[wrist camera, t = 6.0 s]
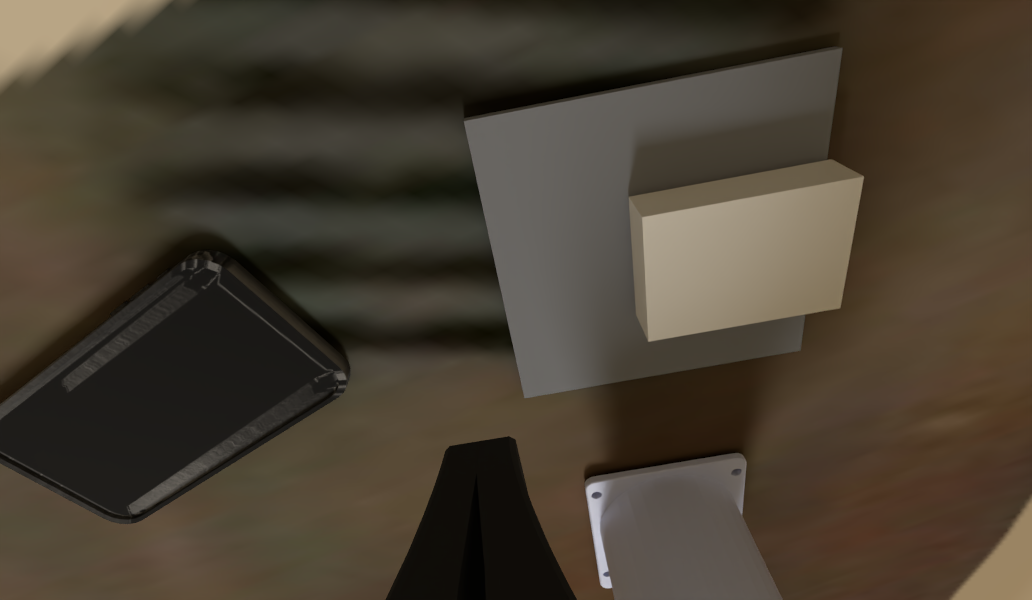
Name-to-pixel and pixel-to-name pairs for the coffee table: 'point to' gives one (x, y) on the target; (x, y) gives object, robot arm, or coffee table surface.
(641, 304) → the tile
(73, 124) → the coffee table surface
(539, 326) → the mat
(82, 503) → the phone
